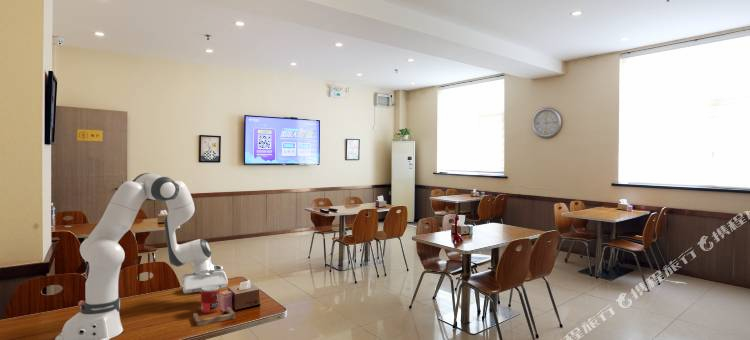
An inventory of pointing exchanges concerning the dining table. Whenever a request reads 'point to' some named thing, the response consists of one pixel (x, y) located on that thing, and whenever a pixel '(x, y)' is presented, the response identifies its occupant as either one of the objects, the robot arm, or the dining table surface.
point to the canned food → (210, 299)
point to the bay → (214, 319)
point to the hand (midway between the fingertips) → (207, 297)
